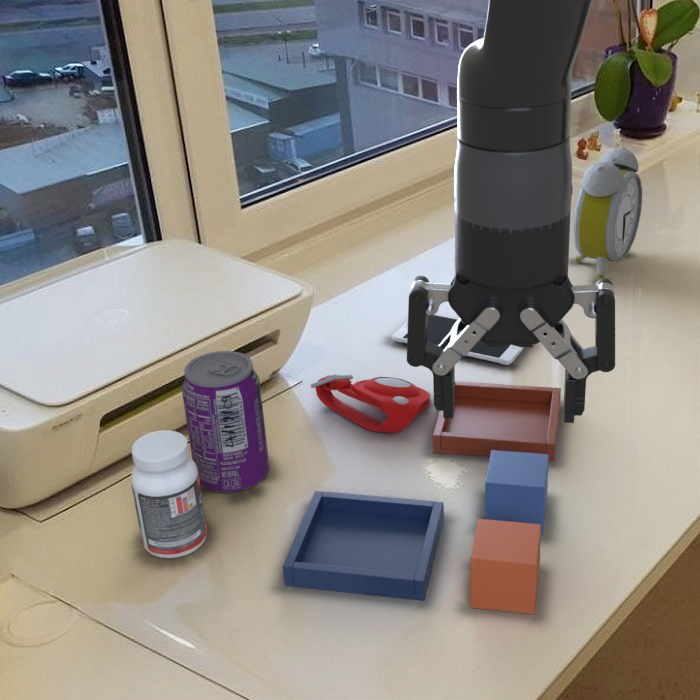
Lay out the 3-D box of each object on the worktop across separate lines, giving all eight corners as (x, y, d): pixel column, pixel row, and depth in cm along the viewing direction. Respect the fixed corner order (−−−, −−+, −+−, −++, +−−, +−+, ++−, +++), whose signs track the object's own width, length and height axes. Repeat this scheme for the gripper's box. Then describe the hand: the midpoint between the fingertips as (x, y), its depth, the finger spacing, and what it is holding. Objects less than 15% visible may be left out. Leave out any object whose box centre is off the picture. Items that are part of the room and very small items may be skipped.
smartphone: (510, 362, 117) (389, 336, 124) (510, 367, 117) (389, 341, 124) (535, 333, 122) (418, 310, 129) (535, 338, 123) (418, 315, 129)
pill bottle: (221, 538, 93) (207, 443, 89) (168, 570, 90) (151, 472, 85) (182, 512, 97) (167, 419, 92) (129, 541, 94) (111, 446, 89)
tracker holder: (421, 372, 115) (445, 398, 105) (415, 412, 116) (438, 440, 106) (310, 362, 112) (325, 387, 103) (305, 403, 113) (319, 431, 104)
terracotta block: (539, 573, 87) (541, 523, 85) (534, 615, 83) (536, 564, 80) (478, 566, 88) (478, 518, 86) (470, 608, 84) (470, 557, 81)
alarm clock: (609, 287, 134) (616, 172, 127) (557, 278, 137) (562, 165, 130) (639, 253, 142) (648, 144, 135) (590, 245, 146) (596, 138, 138)
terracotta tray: (560, 404, 110) (561, 387, 109) (554, 462, 101) (555, 444, 100) (448, 397, 112) (448, 380, 111) (432, 452, 103) (432, 435, 102)
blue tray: (443, 520, 94) (443, 501, 93) (424, 601, 85) (423, 581, 84) (316, 508, 96) (314, 490, 96) (284, 585, 87) (282, 566, 86)
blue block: (547, 500, 96) (548, 454, 93) (543, 535, 91) (545, 487, 89) (491, 495, 97) (491, 449, 94) (484, 529, 92) (485, 482, 90)
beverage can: (283, 464, 103) (271, 355, 97) (246, 505, 97) (232, 392, 92) (220, 450, 106) (205, 343, 100) (181, 489, 100) (163, 379, 95)
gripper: (396, 224, 67) (405, 440, 75) (629, 225, 65) (613, 447, 73) (409, 183, 74) (415, 386, 81) (620, 183, 71) (606, 391, 79)
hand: (508, 415), depth 77 cm, fingers open, 8 cm apart
